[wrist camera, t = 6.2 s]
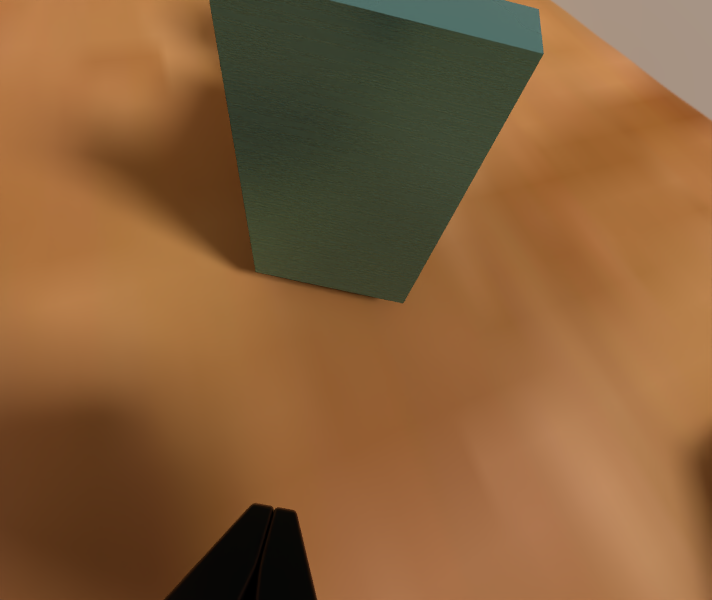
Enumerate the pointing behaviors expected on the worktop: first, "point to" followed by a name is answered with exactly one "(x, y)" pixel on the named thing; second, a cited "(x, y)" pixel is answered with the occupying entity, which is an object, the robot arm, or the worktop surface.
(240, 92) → the teal green slab
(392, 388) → the worktop surface
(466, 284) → the worktop surface
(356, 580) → the worktop surface
